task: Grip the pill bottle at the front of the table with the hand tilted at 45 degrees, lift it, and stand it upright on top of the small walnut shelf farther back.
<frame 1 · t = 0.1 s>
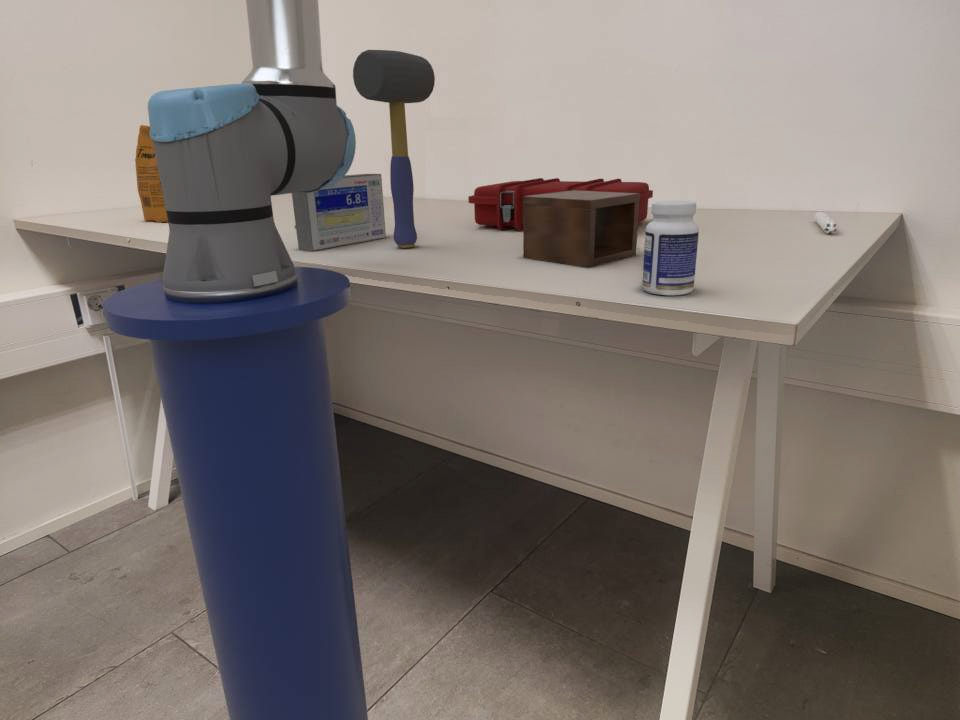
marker: (824, 229, 114), on the table
coffee package: (171, 220, 152), on the table
electronic device: (340, 243, 112), on the table
rubber mallet: (406, 248, 105), on the table
shelf: (579, 256, 93), on the table
pill bottle: (667, 292, 71), on the table
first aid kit: (561, 226, 126), on the table
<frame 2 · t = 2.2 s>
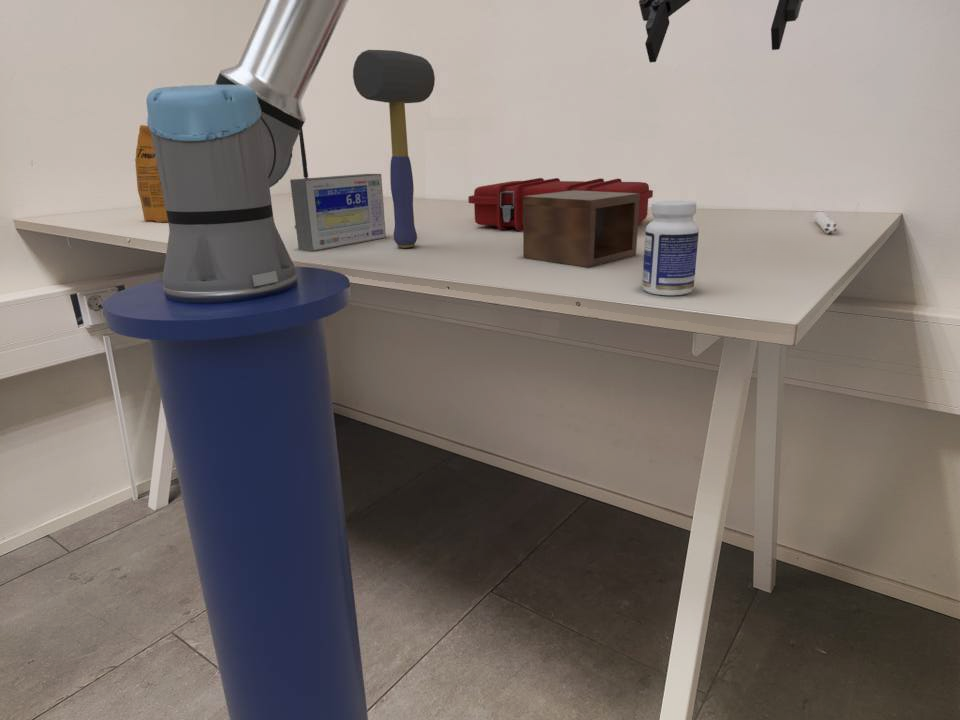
hand: (709, 46, 70), 26 cm above the table, tool tilted 45°, fingers open, 13 cm apart
nothing on the table moved.
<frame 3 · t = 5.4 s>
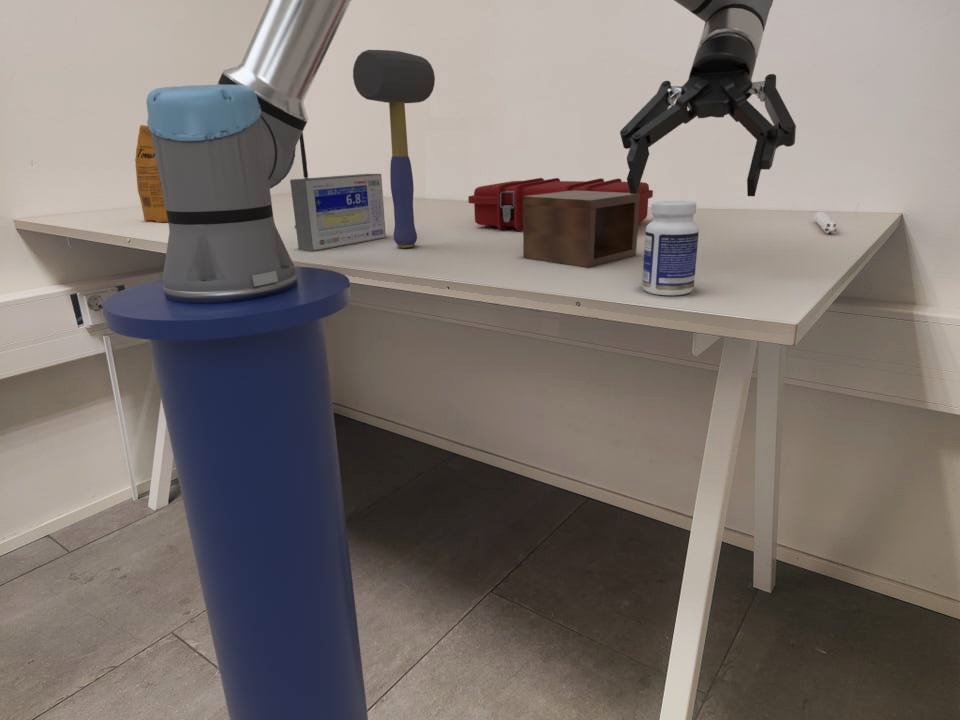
hand: (688, 187, 73), 11 cm above the table, tool tilted 45°, fingers open, 13 cm apart
nothing on the table moved.
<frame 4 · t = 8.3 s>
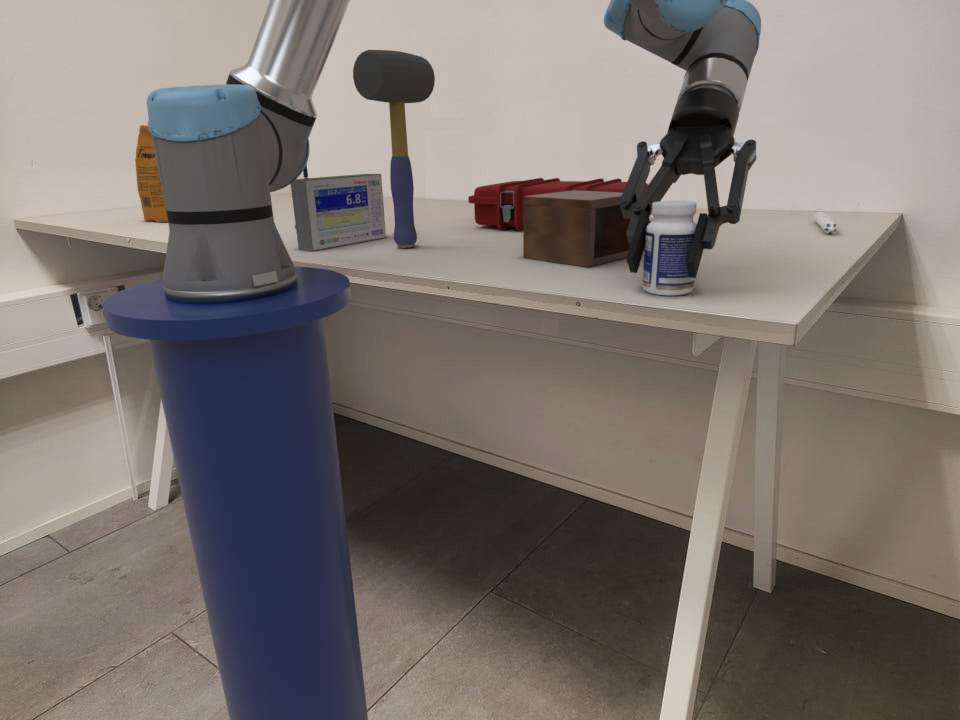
hand: (660, 267, 67), 3 cm above the table, tool tilted 45°, fingers closed on pill bottle, 6 cm apart
pill bottle: (667, 292, 71), on the table, touching gripper
everything else where it was.
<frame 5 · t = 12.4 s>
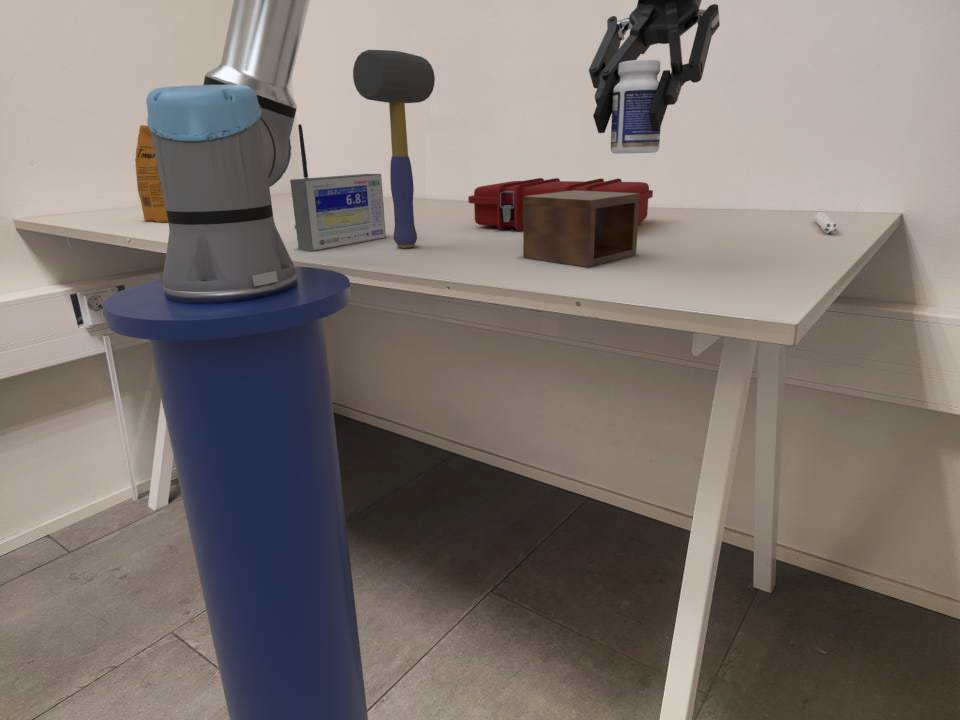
hand: (625, 123, 70), 18 cm above the table, tool tilted 45°, fingers closed on pill bottle, 6 cm apart
pill bottle: (634, 154, 75), point 15 cm above the table, touching gripper
everything else where it was.
when the fingers open (12 cm above the table, at t = 16.3 s): pill bottle stays where it is, resting on shelf.
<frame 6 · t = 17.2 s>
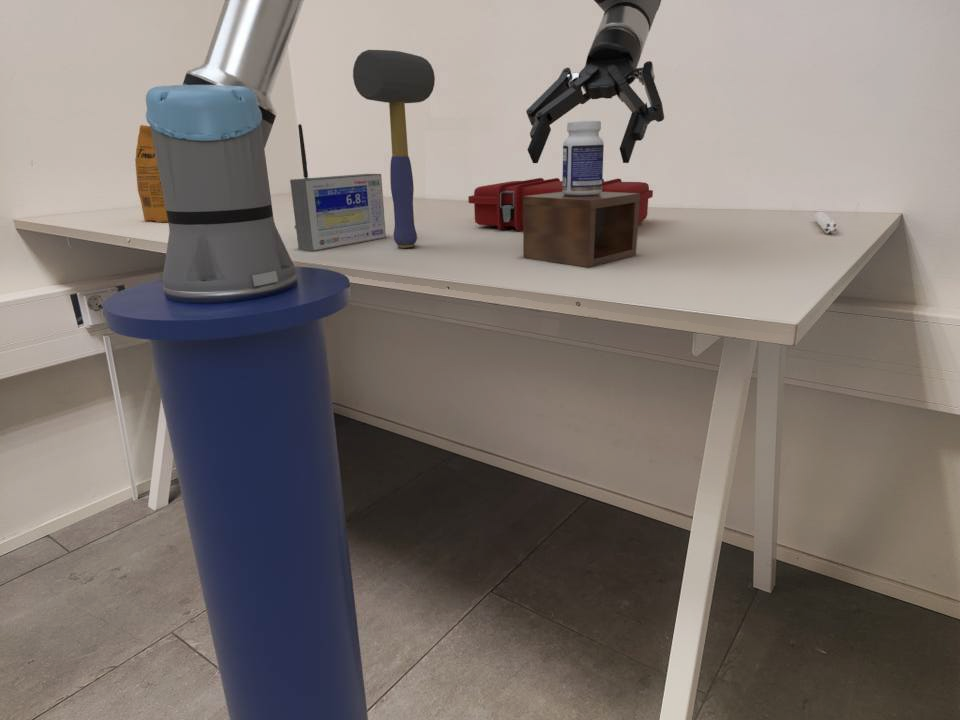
hand: (576, 156, 86), 14 cm above the table, tool tilted 45°, fingers open, 13 cm apart
pill bottle: (581, 196, 90), point 9 cm above the table, touching shelf
everything else where it was.
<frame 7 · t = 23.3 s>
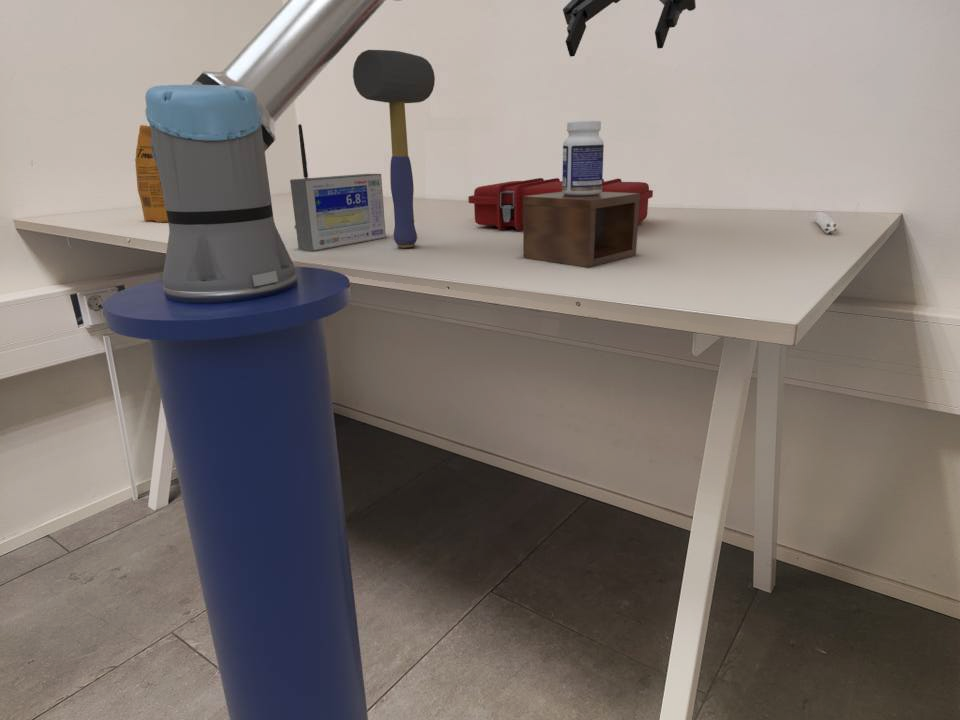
hand: (612, 44, 92), 30 cm above the table, tool tilted 45°, fingers open, 13 cm apart
nothing on the table moved.
at the end: pill bottle inside the target area on the shelf (0.1 cm from its centre), point 8.8 cm above the shelf's base; pill bottle tilted 0°; the gripper is holding nothing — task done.
